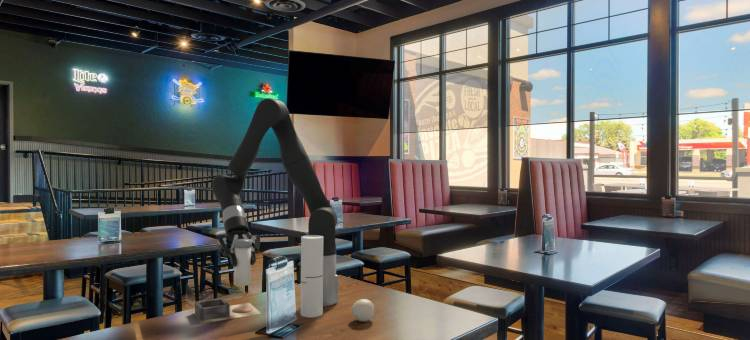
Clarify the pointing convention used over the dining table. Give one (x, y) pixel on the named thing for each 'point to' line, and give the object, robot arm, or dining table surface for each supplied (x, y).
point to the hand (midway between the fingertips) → (244, 264)
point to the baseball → (362, 310)
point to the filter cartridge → (242, 262)
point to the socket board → (221, 310)
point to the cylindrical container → (311, 276)
